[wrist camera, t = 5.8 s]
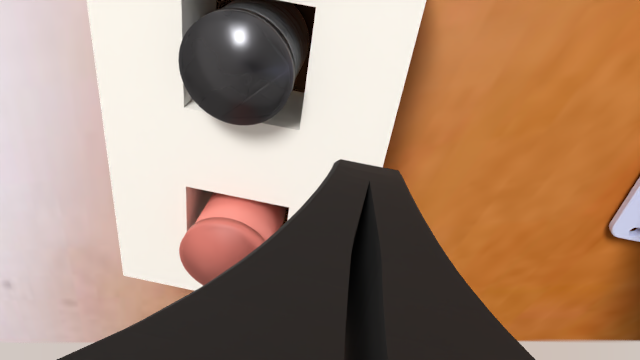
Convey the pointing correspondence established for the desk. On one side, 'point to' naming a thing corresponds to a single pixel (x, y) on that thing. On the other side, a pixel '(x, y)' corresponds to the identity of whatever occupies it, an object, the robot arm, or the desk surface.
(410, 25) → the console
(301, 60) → the graphite plug
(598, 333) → the desk surface
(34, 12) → the desk surface
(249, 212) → the red plug
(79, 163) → the desk surface
